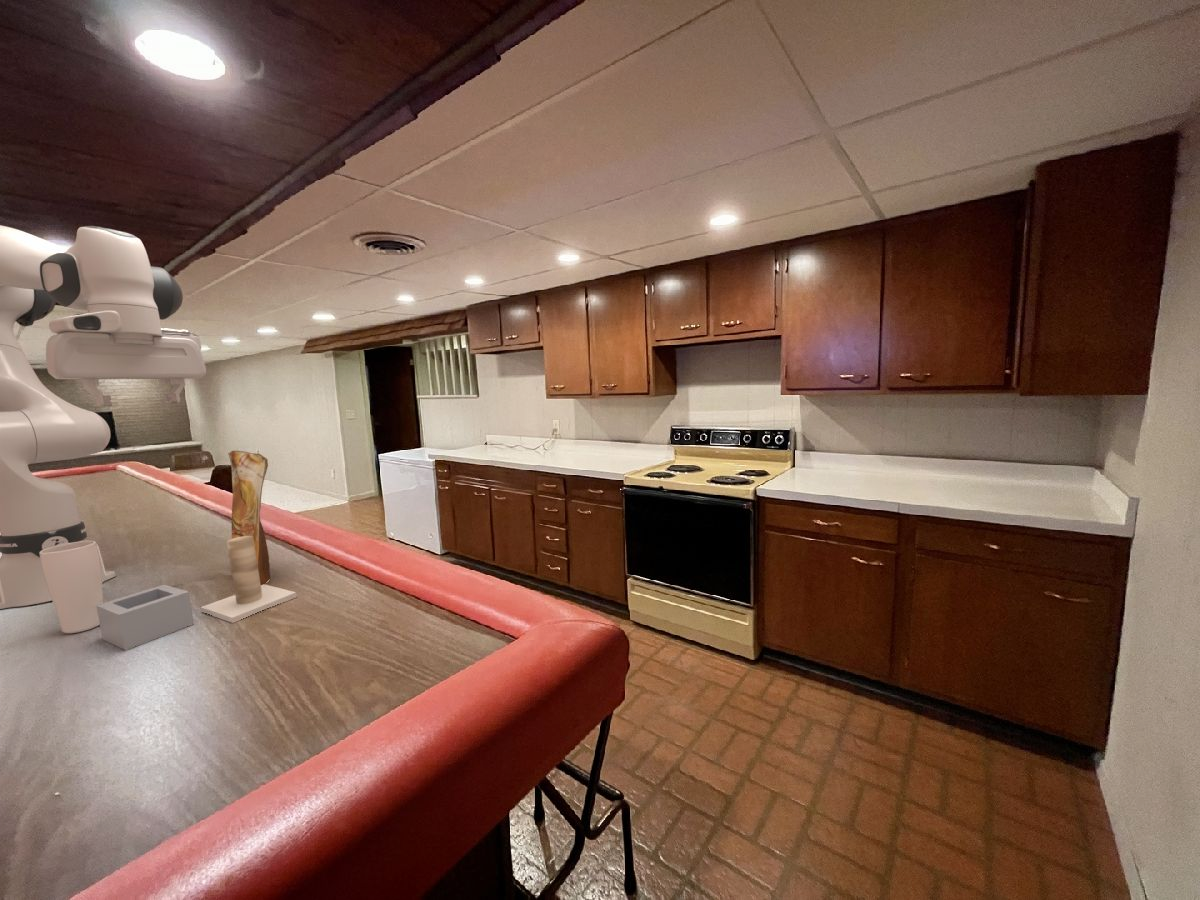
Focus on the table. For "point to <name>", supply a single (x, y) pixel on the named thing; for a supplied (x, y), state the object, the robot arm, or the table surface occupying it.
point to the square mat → (236, 612)
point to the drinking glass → (74, 583)
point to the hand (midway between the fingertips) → (140, 404)
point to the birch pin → (244, 569)
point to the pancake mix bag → (249, 504)
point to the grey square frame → (144, 616)
